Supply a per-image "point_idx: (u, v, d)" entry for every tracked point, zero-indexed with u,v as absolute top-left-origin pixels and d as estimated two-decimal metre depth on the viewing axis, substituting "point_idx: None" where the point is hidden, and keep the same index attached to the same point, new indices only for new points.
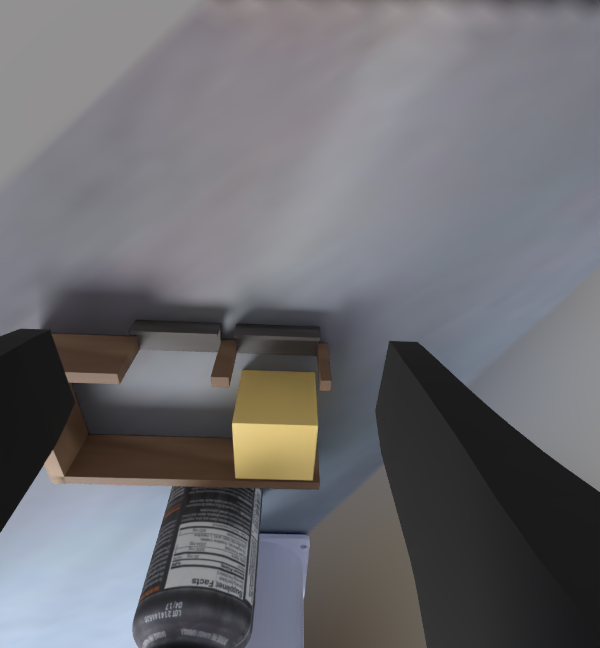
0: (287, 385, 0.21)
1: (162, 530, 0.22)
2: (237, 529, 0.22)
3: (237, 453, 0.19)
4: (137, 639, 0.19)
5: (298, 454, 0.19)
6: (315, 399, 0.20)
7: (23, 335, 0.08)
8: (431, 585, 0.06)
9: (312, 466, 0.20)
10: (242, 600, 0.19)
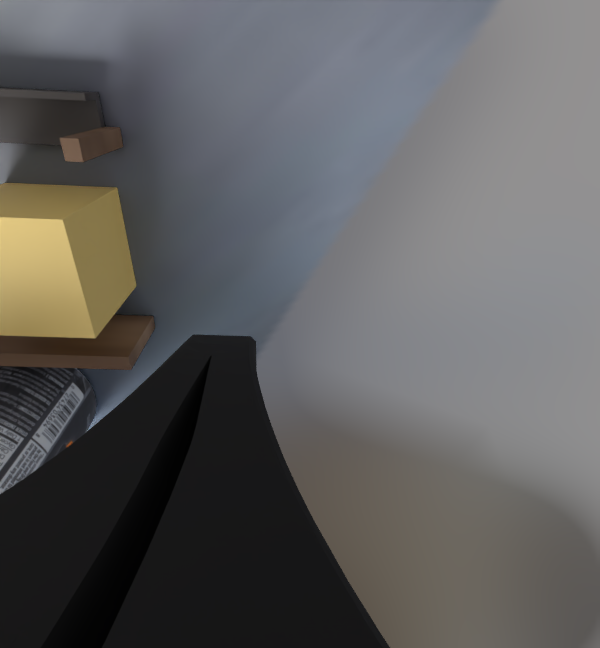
0: (58, 193, 0.13)
1: None
2: (1, 425, 0.14)
3: None
4: None
5: (52, 283, 0.12)
6: (88, 202, 0.12)
7: (204, 340, 0.08)
8: None
9: (84, 309, 0.13)
10: None
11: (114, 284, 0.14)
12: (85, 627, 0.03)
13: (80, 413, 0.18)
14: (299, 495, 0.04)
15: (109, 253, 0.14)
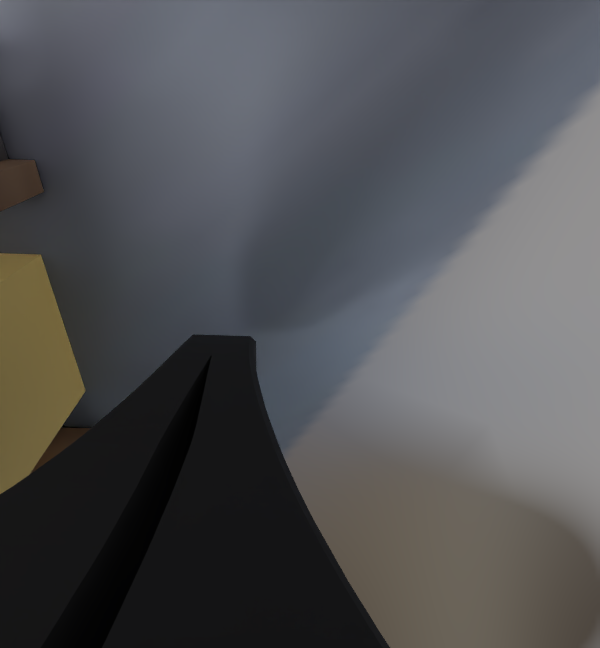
0: None
1: None
2: None
3: None
4: None
5: None
6: None
7: (204, 340, 0.08)
8: None
9: None
10: None
11: (38, 413, 0.09)
12: (85, 627, 0.03)
13: None
14: (299, 495, 0.04)
15: (24, 369, 0.08)
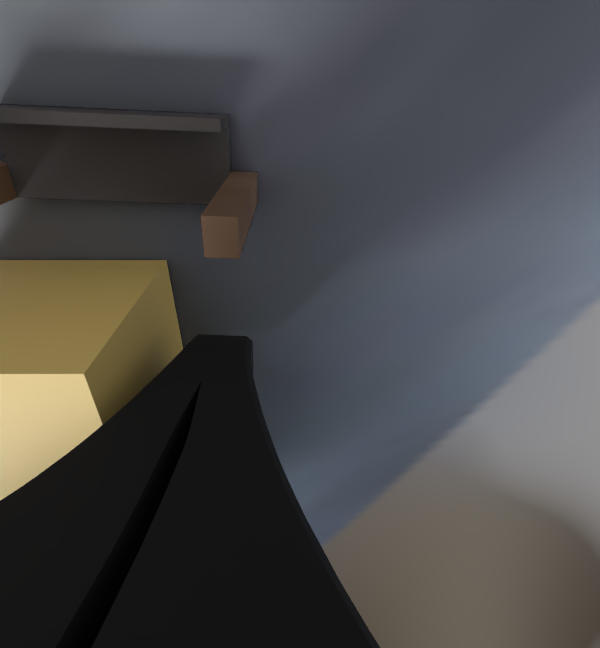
0: (71, 284, 0.08)
1: None
2: None
3: None
4: None
5: None
6: (126, 309, 0.07)
7: (208, 341, 0.08)
8: None
9: None
10: None
11: None
12: (97, 627, 0.03)
13: None
14: (293, 495, 0.04)
15: None
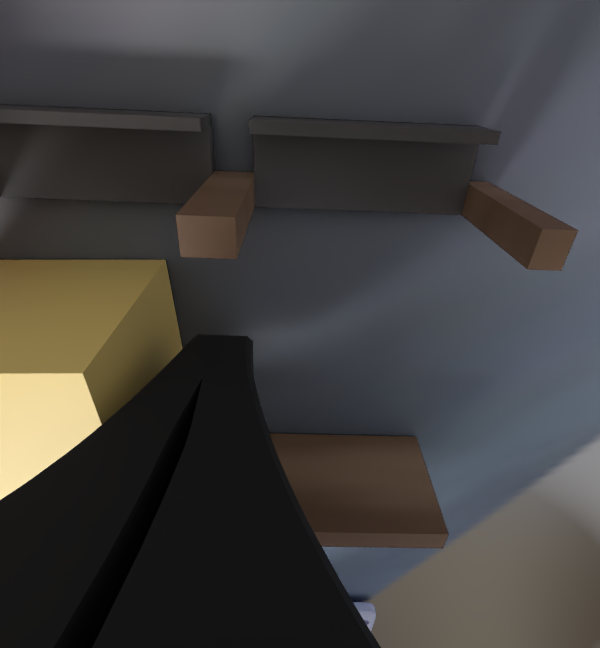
0: (71, 284, 0.08)
1: None
2: None
3: None
4: None
5: None
6: (125, 309, 0.07)
7: (208, 341, 0.08)
8: None
9: None
10: None
11: None
12: (95, 627, 0.03)
13: None
14: (293, 495, 0.04)
15: None
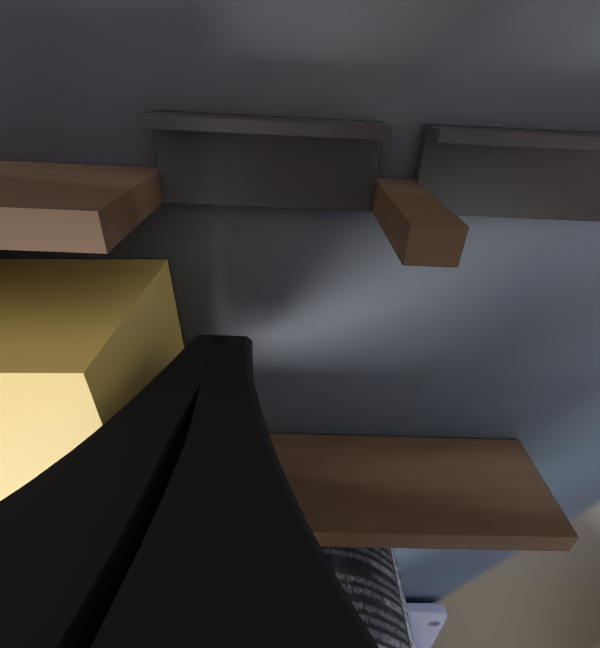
0: (73, 283, 0.08)
1: None
2: None
3: None
4: None
5: None
6: (127, 309, 0.07)
7: (208, 341, 0.08)
8: None
9: None
10: None
11: None
12: (97, 627, 0.03)
13: None
14: (292, 495, 0.04)
15: None
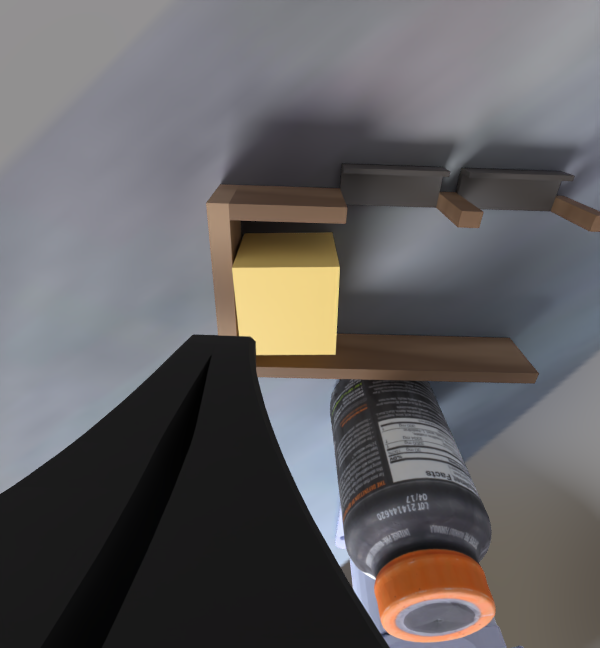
0: (299, 241, 0.17)
1: (350, 432, 0.19)
2: (444, 428, 0.18)
3: (241, 316, 0.16)
4: (362, 544, 0.15)
5: (316, 313, 0.16)
6: (334, 249, 0.16)
7: (204, 341, 0.08)
8: None
9: (334, 332, 0.16)
10: (480, 500, 0.16)
11: None
12: (85, 627, 0.03)
13: None
14: (299, 495, 0.04)
15: None
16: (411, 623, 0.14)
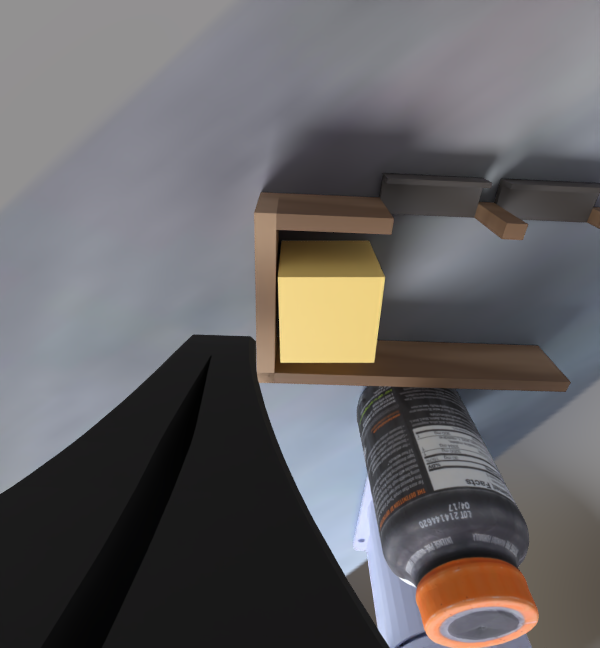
0: (338, 249, 0.17)
1: (383, 439, 0.19)
2: (477, 436, 0.18)
3: (283, 324, 0.16)
4: (403, 551, 0.15)
5: (358, 322, 0.16)
6: (375, 258, 0.16)
7: (204, 341, 0.08)
8: None
9: (374, 341, 0.16)
10: None
11: None
12: (85, 627, 0.03)
13: None
14: (299, 495, 0.04)
15: None
16: (456, 630, 0.14)
